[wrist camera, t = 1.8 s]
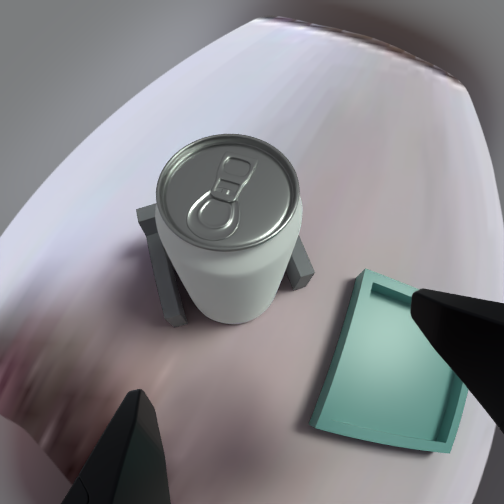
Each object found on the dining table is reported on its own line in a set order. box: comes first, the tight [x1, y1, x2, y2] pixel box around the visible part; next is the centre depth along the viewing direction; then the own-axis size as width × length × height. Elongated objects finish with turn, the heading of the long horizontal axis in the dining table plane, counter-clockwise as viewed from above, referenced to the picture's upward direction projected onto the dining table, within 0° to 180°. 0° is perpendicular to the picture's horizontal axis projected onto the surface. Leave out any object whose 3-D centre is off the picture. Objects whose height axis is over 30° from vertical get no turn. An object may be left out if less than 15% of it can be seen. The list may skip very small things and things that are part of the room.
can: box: [155, 134, 302, 324], centre depth 17 cm, size 6×6×12 cm
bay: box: [136, 204, 315, 327], centre depth 21 cm, size 7×10×5 cm
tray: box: [309, 268, 468, 453], centre depth 19 cm, size 12×12×2 cm
